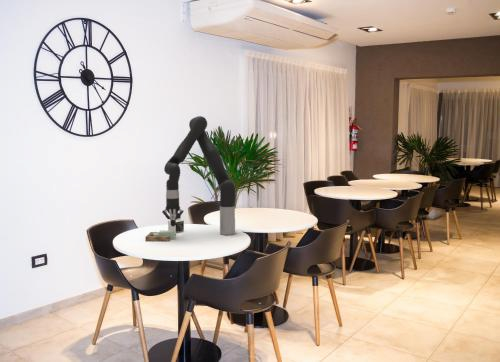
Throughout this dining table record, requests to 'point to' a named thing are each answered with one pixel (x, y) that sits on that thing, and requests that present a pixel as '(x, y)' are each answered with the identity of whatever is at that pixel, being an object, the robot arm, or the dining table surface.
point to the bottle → (165, 234)
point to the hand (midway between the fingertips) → (173, 226)
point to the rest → (156, 237)
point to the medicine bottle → (178, 227)
